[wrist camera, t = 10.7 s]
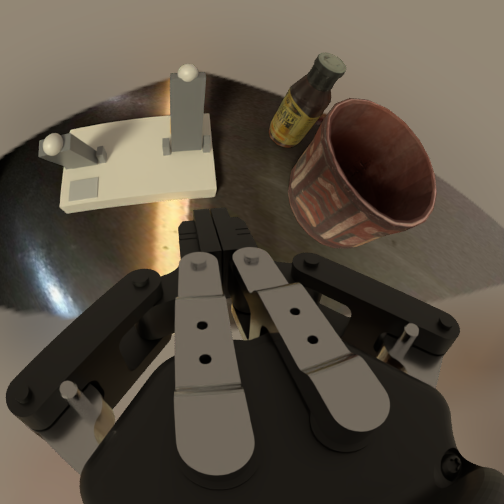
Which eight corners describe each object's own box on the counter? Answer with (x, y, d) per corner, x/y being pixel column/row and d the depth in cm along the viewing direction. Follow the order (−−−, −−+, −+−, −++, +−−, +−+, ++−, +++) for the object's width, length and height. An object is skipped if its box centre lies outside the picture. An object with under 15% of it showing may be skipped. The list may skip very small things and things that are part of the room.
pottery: (376, 191, 50) (439, 148, 33) (353, 274, 45) (430, 252, 28) (297, 143, 48) (341, 78, 31) (259, 224, 43) (302, 171, 26)
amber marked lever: (201, 151, 39) (207, 67, 28) (171, 153, 38) (170, 68, 27) (200, 140, 41) (205, 60, 29) (171, 142, 39) (170, 61, 28)
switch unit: (214, 196, 43) (218, 182, 37) (66, 213, 37) (53, 201, 32) (207, 123, 45) (210, 104, 40) (75, 139, 39) (66, 122, 34)
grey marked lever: (97, 166, 36) (64, 149, 23) (72, 170, 35) (32, 157, 22) (97, 149, 36) (65, 127, 23) (72, 154, 35) (33, 135, 22)
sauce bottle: (263, 122, 47) (301, 41, 28) (294, 122, 49) (340, 47, 30) (272, 152, 46) (318, 73, 27) (304, 150, 48) (360, 79, 29)
